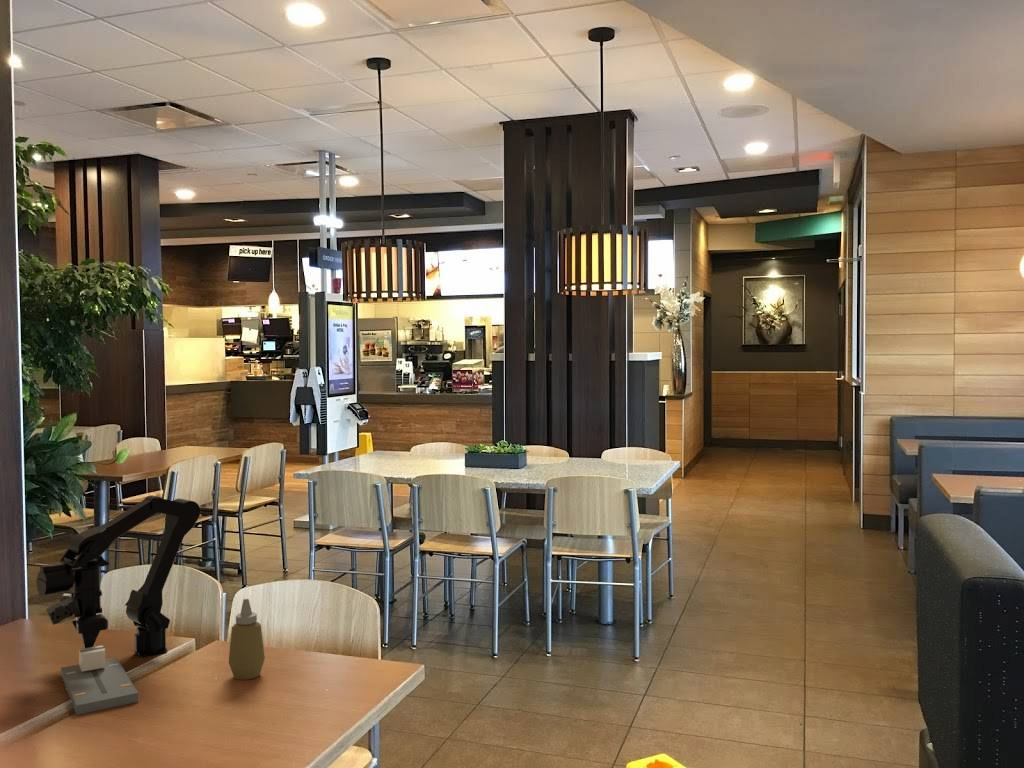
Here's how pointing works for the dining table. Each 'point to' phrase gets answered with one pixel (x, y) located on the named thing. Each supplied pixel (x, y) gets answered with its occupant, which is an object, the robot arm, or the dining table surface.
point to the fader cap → (92, 658)
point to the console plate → (99, 687)
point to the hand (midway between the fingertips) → (88, 651)
